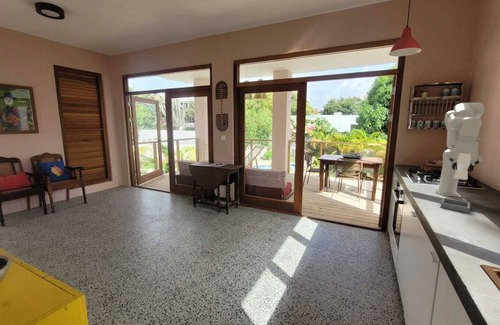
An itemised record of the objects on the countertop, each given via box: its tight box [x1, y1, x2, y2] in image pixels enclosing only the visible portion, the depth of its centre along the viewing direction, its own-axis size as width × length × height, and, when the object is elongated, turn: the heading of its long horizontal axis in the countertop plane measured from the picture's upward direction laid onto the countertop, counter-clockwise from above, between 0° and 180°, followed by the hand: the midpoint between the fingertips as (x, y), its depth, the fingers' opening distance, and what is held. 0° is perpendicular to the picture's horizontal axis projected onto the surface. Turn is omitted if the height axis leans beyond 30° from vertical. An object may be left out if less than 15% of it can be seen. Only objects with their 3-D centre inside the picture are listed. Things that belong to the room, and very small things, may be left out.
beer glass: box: [454, 153, 472, 181], centre depth 135 cm, size 7×7×15 cm
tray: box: [439, 197, 471, 214], centre depth 139 cm, size 13×12×3 cm
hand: (461, 170), depth 136 cm, fingers closed on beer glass, 6 cm apart
